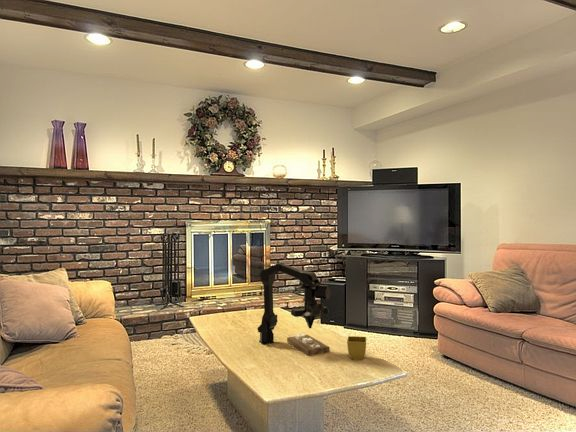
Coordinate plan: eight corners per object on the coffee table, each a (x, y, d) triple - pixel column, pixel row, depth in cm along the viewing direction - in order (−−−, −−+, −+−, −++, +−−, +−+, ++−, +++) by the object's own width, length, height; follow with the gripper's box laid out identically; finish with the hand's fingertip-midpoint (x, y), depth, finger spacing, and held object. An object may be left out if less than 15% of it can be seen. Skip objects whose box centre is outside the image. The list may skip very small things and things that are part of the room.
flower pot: (366, 361, 190) (366, 342, 190) (347, 361, 192) (346, 341, 192) (366, 355, 199) (366, 336, 199) (348, 354, 200) (348, 336, 201)
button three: (313, 352, 204) (313, 347, 204) (309, 350, 208) (309, 344, 208) (320, 351, 206) (320, 345, 206) (316, 348, 209) (316, 343, 209)
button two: (305, 345, 212) (305, 340, 212) (302, 343, 215) (302, 338, 215) (312, 344, 213) (312, 339, 213) (309, 342, 217) (309, 337, 217)
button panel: (307, 355, 200) (307, 350, 201) (287, 342, 223) (287, 337, 223) (329, 351, 205) (329, 346, 205) (307, 339, 228) (307, 334, 228)
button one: (298, 341, 220) (298, 336, 220) (295, 339, 223) (295, 334, 223) (305, 339, 221) (305, 335, 221) (302, 338, 225) (302, 333, 225)
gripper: (299, 302, 200) (299, 334, 200) (333, 298, 207) (334, 330, 207) (290, 297, 210) (290, 328, 210) (323, 294, 217) (323, 324, 217)
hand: (310, 328), depth 211 cm, fingers closed
